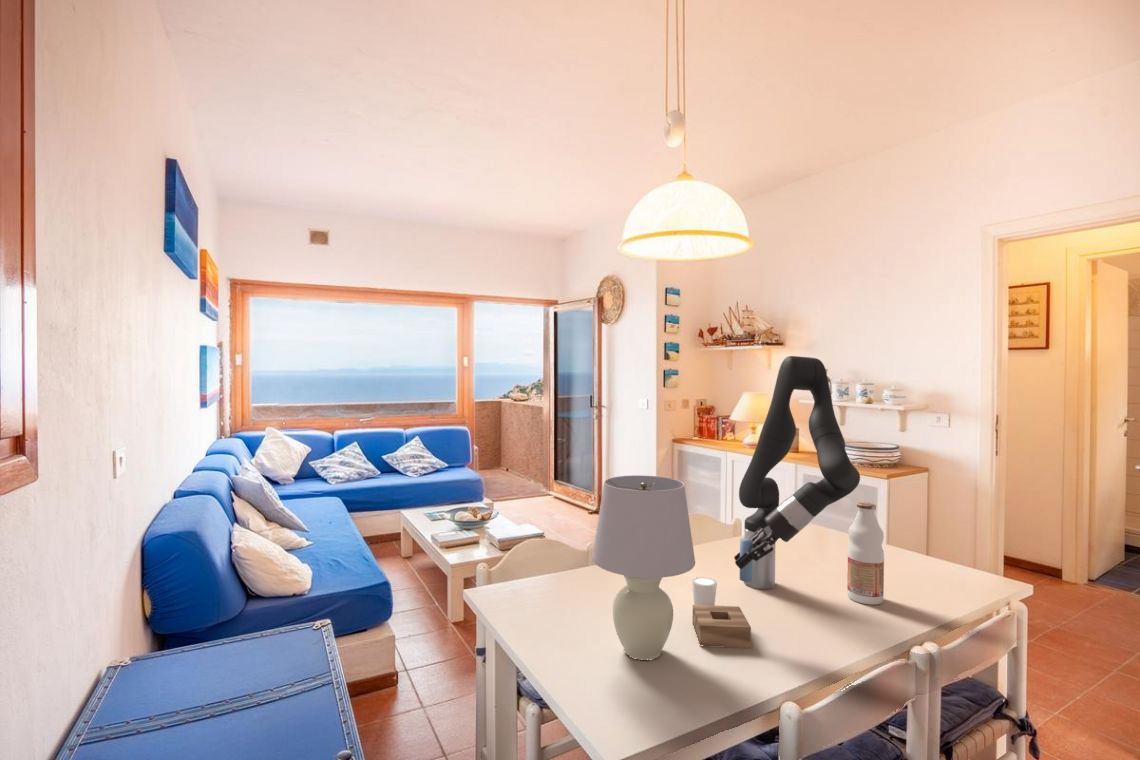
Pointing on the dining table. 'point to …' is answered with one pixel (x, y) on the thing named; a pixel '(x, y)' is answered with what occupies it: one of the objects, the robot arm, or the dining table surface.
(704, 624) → the hole block
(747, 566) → the peg
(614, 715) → the dining table surface
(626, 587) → the lamp
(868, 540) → the fruit juice
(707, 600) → the white cup
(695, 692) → the dining table surface
